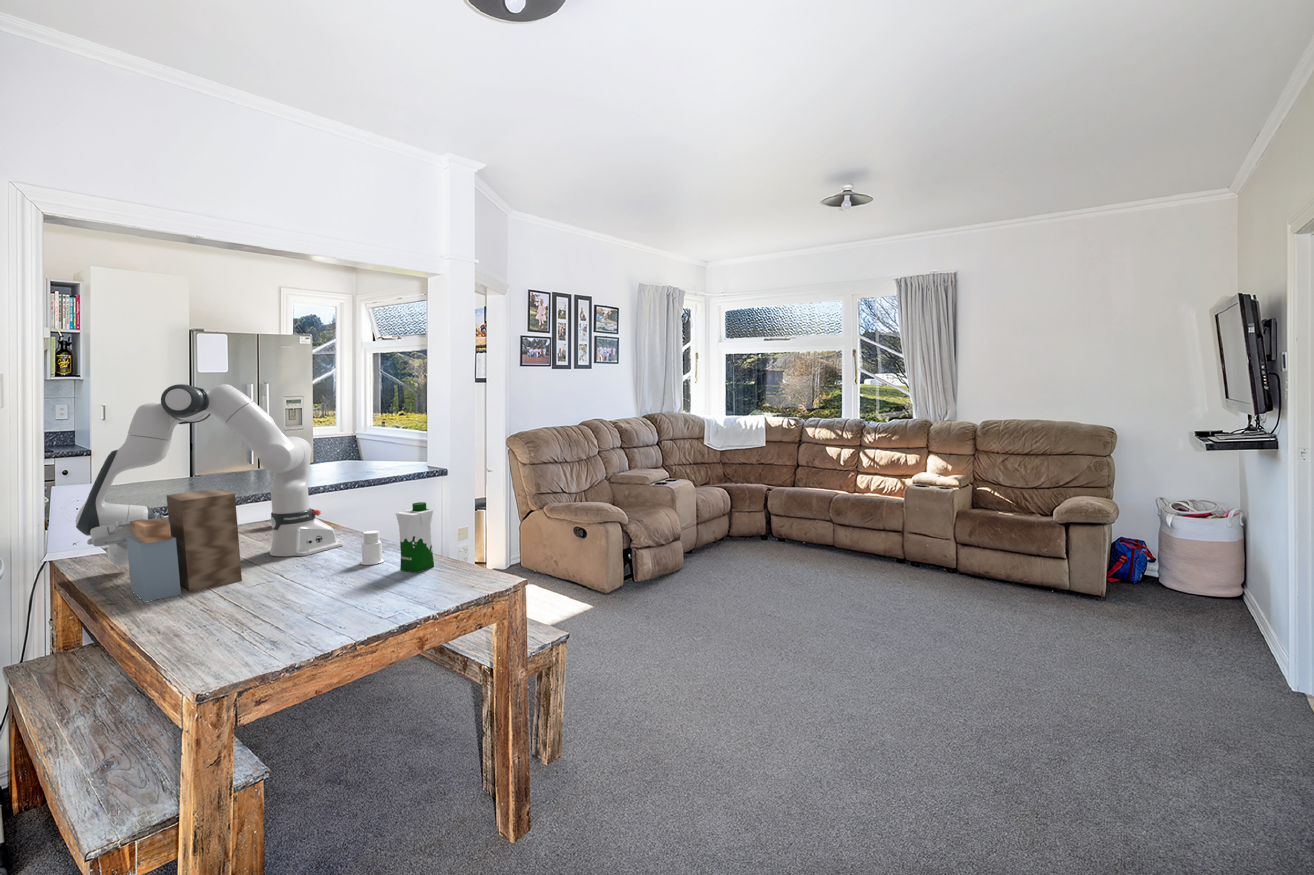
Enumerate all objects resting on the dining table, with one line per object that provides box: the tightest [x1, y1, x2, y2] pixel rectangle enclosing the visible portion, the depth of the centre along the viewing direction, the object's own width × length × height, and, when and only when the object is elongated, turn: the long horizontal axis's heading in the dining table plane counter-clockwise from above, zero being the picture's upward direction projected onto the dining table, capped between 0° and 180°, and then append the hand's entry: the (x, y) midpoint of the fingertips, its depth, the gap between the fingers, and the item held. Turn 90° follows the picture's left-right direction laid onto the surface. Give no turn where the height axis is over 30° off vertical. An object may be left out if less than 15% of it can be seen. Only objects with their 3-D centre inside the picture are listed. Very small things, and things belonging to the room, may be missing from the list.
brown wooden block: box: [130, 518, 171, 544], centre depth 181 cm, size 6×21×4 cm, turn 50°
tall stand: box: [166, 488, 243, 593], centre depth 190 cm, size 13×14×26 cm
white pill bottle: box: [360, 530, 385, 566], centre depth 208 cm, size 8×7×10 cm
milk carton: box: [395, 501, 435, 573], centre depth 200 cm, size 9×9×20 cm
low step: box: [126, 535, 182, 603], centre depth 181 cm, size 8×14×16 cm, turn 50°
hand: (140, 520), depth 185 cm, fingers open, 8 cm apart
